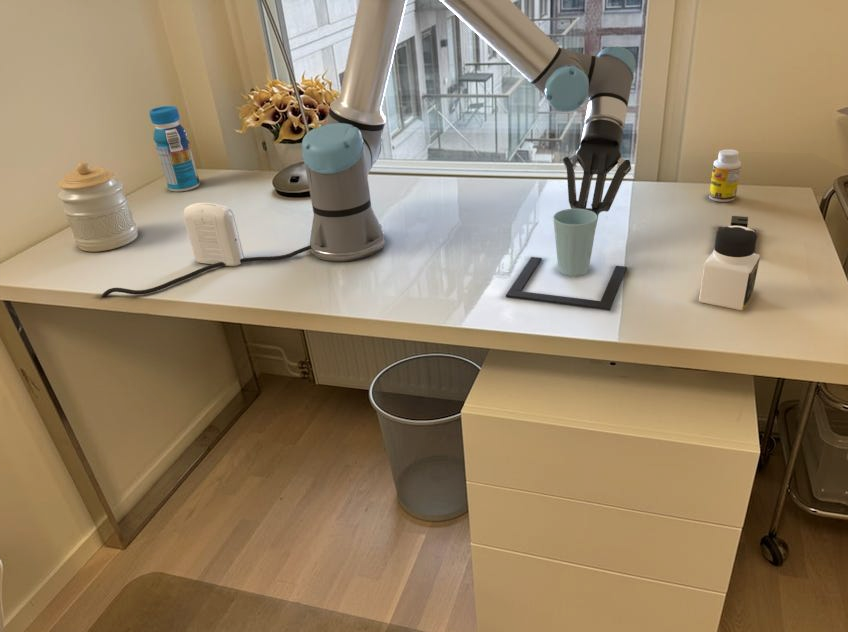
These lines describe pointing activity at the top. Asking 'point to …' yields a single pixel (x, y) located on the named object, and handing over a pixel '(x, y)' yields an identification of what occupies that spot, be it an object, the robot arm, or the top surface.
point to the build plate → (740, 223)
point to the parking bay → (603, 304)
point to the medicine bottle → (730, 269)
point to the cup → (574, 240)
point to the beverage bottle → (174, 149)
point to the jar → (97, 208)
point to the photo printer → (213, 234)
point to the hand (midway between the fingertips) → (581, 243)
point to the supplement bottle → (725, 176)
